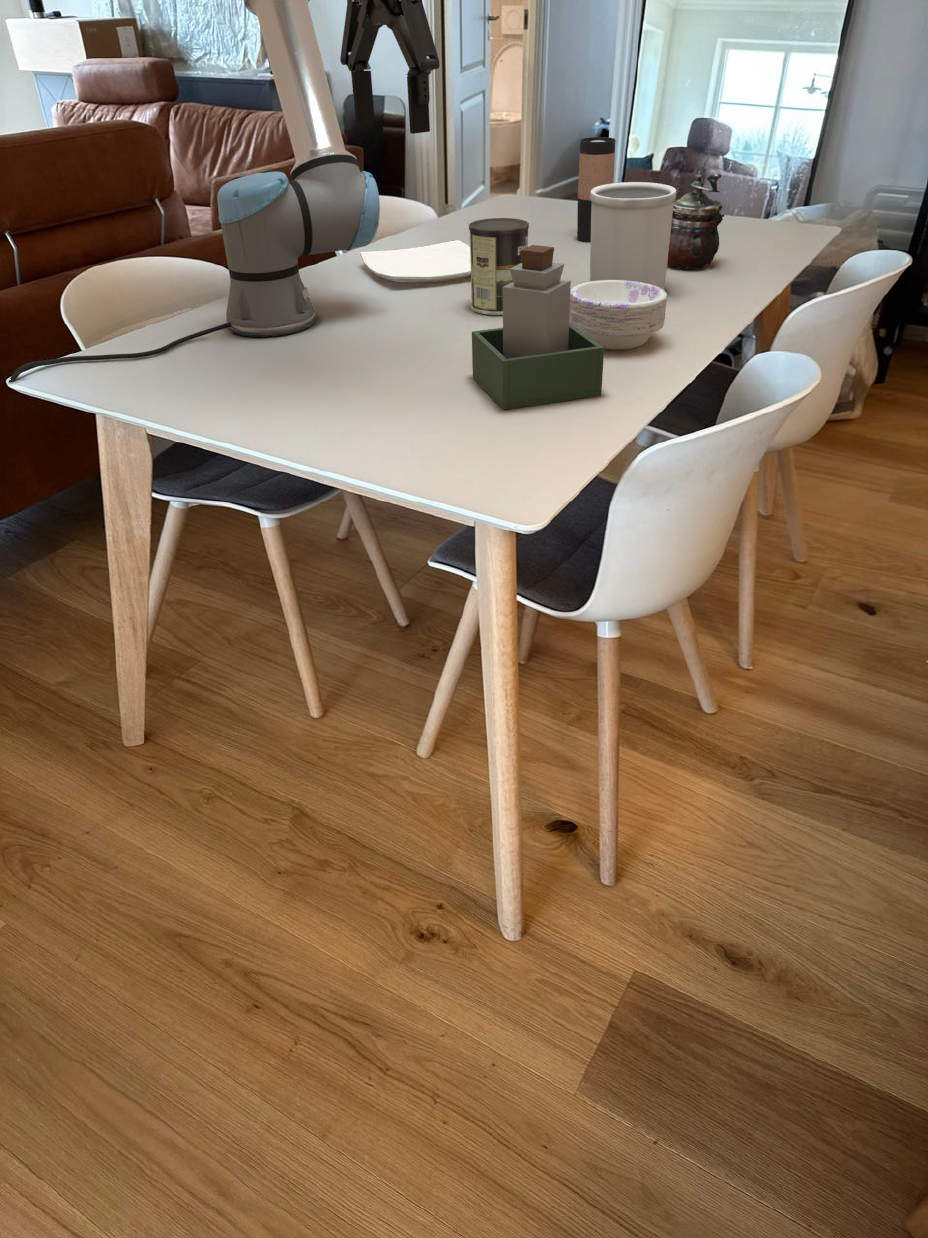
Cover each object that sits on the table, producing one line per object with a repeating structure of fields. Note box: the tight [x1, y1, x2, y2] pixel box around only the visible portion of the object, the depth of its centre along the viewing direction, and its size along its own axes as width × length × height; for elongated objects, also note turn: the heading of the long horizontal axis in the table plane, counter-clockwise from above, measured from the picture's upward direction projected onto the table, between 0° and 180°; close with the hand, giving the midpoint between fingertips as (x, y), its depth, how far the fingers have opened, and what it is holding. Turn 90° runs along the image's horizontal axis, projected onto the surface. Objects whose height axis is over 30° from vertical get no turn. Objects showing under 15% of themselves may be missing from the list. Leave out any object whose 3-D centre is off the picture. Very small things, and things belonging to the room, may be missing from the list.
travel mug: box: [576, 136, 617, 243], centre depth 198 cm, size 8×8×20 cm
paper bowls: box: [569, 280, 668, 351], centre depth 143 cm, size 15×15×8 cm
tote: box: [471, 322, 605, 411], centre depth 128 cm, size 15×14×7 cm
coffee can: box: [468, 217, 530, 316], centre depth 158 cm, size 10×10×14 cm
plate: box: [359, 239, 471, 284], centre depth 184 cm, size 24×24×3 cm
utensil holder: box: [589, 181, 677, 291], centre depth 163 cm, size 15×15×18 cm
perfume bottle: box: [502, 244, 572, 359], centre depth 124 cm, size 7×7×18 cm
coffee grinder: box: [667, 173, 725, 270], centre depth 176 cm, size 13×15×18 cm
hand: (391, 128), depth 124 cm, fingers open, 13 cm apart
